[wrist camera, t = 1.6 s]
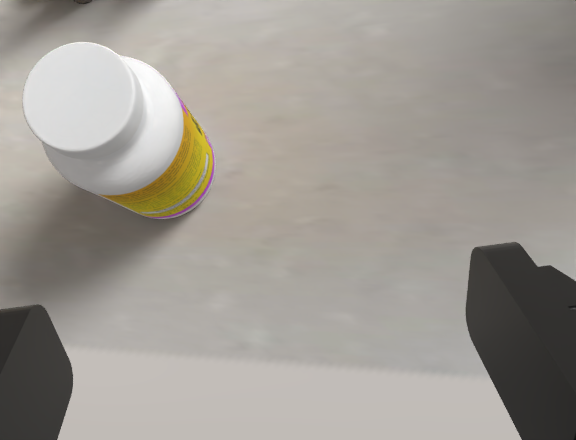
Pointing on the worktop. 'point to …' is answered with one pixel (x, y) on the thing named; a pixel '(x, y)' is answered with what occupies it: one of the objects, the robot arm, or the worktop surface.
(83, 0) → the pin block
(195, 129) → the supplement bottle
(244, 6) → the worktop surface
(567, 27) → the worktop surface
